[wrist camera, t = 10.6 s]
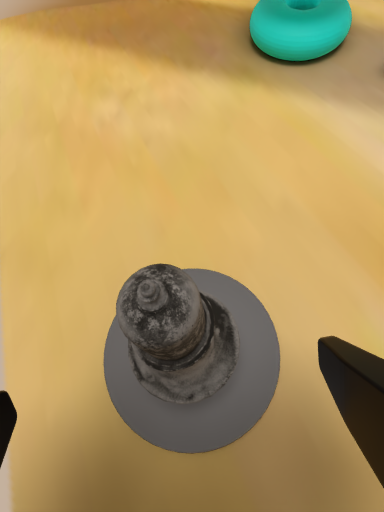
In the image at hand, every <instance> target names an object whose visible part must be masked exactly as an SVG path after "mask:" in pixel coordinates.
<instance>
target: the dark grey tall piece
mask: <svg viewBox="0 0 384 512" xmlns="http://www.w3.org/2000/svg"><path fill="white" fill-rule="evenodd" d="M116 315H117V319H118V323H119V326H120V328H121V330H122V332H123V333H124V335H125V337H126V338H128V357H129V361H130V365H131V368H132V371H133V373H134V375H135V376H136V378H137V380H138V381H139V383H140V384H141V385H142V386H143V387H144V388H145V389H146V390H147V391H148V392H149V393H150V394H151V395H153V396H155V397H157V398H159V399H161V400H163V401H165V402H171V403H176V404H188V403H196V402H199V401H201V400H204V399H206V398H208V397H211V396H212V395H213V394H215V393H216V392H217V391H218V390H220V389H221V388H222V387H223V386H224V385H225V384H226V382H227V381H228V380H229V378H230V377H231V375H232V374H233V372H234V369H235V367H236V364H237V361H238V359H239V350H240V338H239V332H238V327H237V325H236V322H235V320H234V318H233V316H232V314H231V312H230V311H229V310H228V309H227V307H226V306H225V305H224V304H223V303H222V302H221V301H220V300H218V299H217V298H215V297H214V296H213V295H211V294H209V293H206V292H204V291H201V290H198V288H197V285H196V284H195V282H194V281H193V280H192V278H191V277H190V276H189V275H188V274H187V273H185V272H184V271H183V270H181V269H180V268H178V267H175V266H172V265H169V264H154V265H149V266H147V267H144V268H142V269H140V270H138V271H137V272H135V273H134V274H133V275H131V276H130V278H129V279H128V280H127V281H126V282H125V283H124V285H123V287H122V289H121V290H120V292H119V295H118V299H117V303H116Z"/></svg>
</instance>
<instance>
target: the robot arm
mask: <svg viewBox="0 0 384 512" xmlns="http://www.w3.org/2000/svg"><path fill="white" fill-rule="evenodd" d="M318 357H319V366H320V370H321V372H322V374H323V376H324V379H325V381H326V383H327V385H328V387H329V389H330V392H331V394H332V396H333V398H334V400H335V403H336V405H337V407H338V409H339V411H340V413H341V415H342V418H343V420H344V422H345V424H346V425H347V427H348V429H349V431H350V432H351V434H352V436H353V437H354V439H355V441H356V443H357V444H358V446H359V448H360V449H361V451H362V453H363V454H364V456H365V458H366V459H367V461H368V463H369V464H370V466H371V468H372V469H373V471H374V473H375V475H376V476H377V478H378V480H379V481H380V483H381V485H382V486H383V488H384V359H382V358H380V357H378V356H376V355H373V354H371V353H369V352H367V351H365V350H363V349H361V348H359V347H356V346H354V345H352V344H350V343H348V342H346V341H344V340H341V339H339V338H337V337H335V336H328V337H322V338H320V339H319V340H318ZM16 421H17V412H16V409H15V407H14V405H13V403H12V401H11V398H10V396H9V394H8V393H7V392H6V391H0V467H1V465H2V462H3V459H4V456H5V453H6V450H7V447H8V444H9V441H10V439H11V436H12V433H13V430H14V427H15V424H16Z"/></svg>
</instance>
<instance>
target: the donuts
mask: <svg viewBox="0 0 384 512" xmlns="http://www.w3.org/2000/svg"><path fill="white" fill-rule="evenodd" d="M351 21H352V14H351V8H350V6H349V3H348V1H347V0H260V1H259V2H258V3H257V5H256V6H255V8H254V10H253V12H252V15H251V18H250V33H251V37H252V39H253V41H254V43H255V44H256V45H257V46H258V48H260V49H261V50H262V51H263V52H265V53H266V54H268V55H270V56H272V57H275V58H278V59H282V60H289V61H304V60H310V59H314V58H318V57H321V56H323V55H325V54H327V53H329V52H331V51H332V50H334V49H335V48H336V47H338V46H339V45H340V44H341V42H342V41H343V40H344V39H345V37H346V35H347V34H348V32H349V29H350V26H351Z"/></svg>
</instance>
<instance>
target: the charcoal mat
mask: <svg viewBox="0 0 384 512" xmlns="http://www.w3.org/2000/svg"><path fill="white" fill-rule="evenodd" d="M181 270H183V271H184V272H185V273H187V274H188V275H189V276H190V277H191V278H192V280H193V281H194V282H195V284H196V285H197V288H198V290H201V291H204V292H206V293H209V294H211V295H213V296H214V297H215V298H217V299H218V300H220V301H221V302H222V303H223V304H224V305H225V306H226V307H227V309H228V310H229V311H230V312H231V314H232V316H233V318H234V320H235V322H236V325H237V327H238V332H239V338H240V350H239V359H238V361H237V364H236V367H235V369H234V372H233V374H232V375H231V377H230V378H229V380H228V381H227V382H226V384H225V385H224V386H223V387H222V388H221V389H220V390H218V391H217V392H216V393H215V394H213V395H212V396H211V397H208V398H206V399H204V400H201V401H199V402H196V403H188V404H176V403H171V402H165V401H163V400H161V399H159V398H157V397H155V396H153V395H151V394H150V393H149V392H148V391H147V390H146V389H145V388H144V387H143V386H142V385H141V384H140V383H139V381H138V380H137V378H136V376H135V375H134V373H133V371H132V368H131V365H130V361H129V357H128V338H126V337H125V335H124V333H123V332H122V330H121V328H120V326H119V323H118V319H117V315H116V316H115V318H114V320H113V322H112V324H111V327H110V329H109V332H108V336H107V339H106V344H105V350H104V374H105V380H106V385H107V389H108V392H109V395H110V397H111V400H112V402H113V404H114V406H115V408H116V410H117V412H118V413H119V414H120V416H121V417H122V419H123V420H124V422H125V423H126V424H127V425H128V426H129V427H130V428H131V429H132V430H133V431H134V432H135V433H137V434H138V435H139V436H140V437H142V438H143V439H145V440H146V441H148V442H150V443H152V444H153V445H156V446H158V447H161V448H163V449H166V450H170V451H175V452H181V453H200V452H207V451H211V450H215V449H218V448H221V447H223V446H225V445H228V444H230V443H232V442H233V441H235V440H237V439H238V438H240V437H241V436H243V435H244V434H245V433H246V432H247V431H249V430H250V429H251V428H252V427H253V426H254V425H255V424H256V422H257V421H258V420H259V419H260V418H261V416H262V415H263V413H264V412H265V410H266V409H267V407H268V405H269V403H270V401H271V399H272V397H273V395H274V392H275V388H276V385H277V382H278V376H279V370H280V350H279V343H278V338H277V334H276V331H275V328H274V325H273V322H272V320H271V318H270V316H269V314H268V312H267V311H266V309H265V308H264V306H263V305H262V303H261V302H260V301H259V300H258V298H257V297H256V296H255V295H254V294H253V293H252V292H251V291H250V290H249V289H248V288H246V287H245V286H244V285H242V284H241V283H239V282H238V281H236V280H234V279H233V278H231V277H229V276H226V275H224V274H221V273H219V272H215V271H211V270H205V269H181Z"/></svg>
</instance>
